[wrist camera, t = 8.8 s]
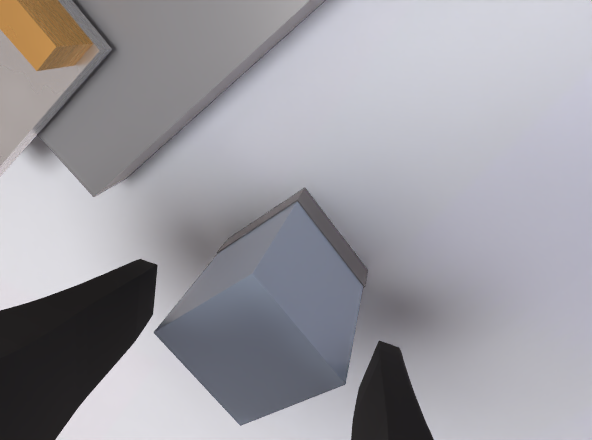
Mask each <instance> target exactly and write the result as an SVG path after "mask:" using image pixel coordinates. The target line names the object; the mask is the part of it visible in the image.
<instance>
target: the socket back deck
mask: <svg viewBox="0 0 592 440" xmlns="http://www.w3.org/2000/svg"><path fill="white" fill-rule="evenodd" d="M72 1H73V2H74V3H75V4H76V6H77V7H78V8H79V9H80V11H81V12H82V13H83V14H84V15H85V17H86V18H87V19H88V20H89V22H90V23H91V24H92V25H93V26H94V28H95V29H96V30H97V31H98V33H99V34H100V35H101V36H102V37H103V39H104V40H105V41H106V42H107V44H108V45H109V46H110V47H111V48H112V50H111V51H110V52H109V53H108V55H107V56H106V57H105V58H104V59H103V60H102V61H101V63H100V64H99V65H98V66H97V67H96V68H95V69H94V71H93V72H92V73H91V74H90V75H89V76H88V77H87V78H86V80H85V81H84V82H83V83H82V84H81V85H80V86H79V88H78V89H77V90H76V91H75V92H74V93H73V94H72V96H71V97H70V98H69V99H68V100H67V101H66V102H65V104H64V105H63V106H62V107H61V108H60V109H59V110H58V111H57V113H56V114H55V115H54V116H53V117H52V118H51V119H50V121H49V122H48V123H47V124H46V125H45V126H44V127H43V129H42V130H41V131H40V132H39V133H38V134H37V135H38V136H39V137H40V138H41V139H42V140H43V141H44V143H45V144H46V145H47V146H48V147H49V148H50V149H51V150H52V152H53V153H54V154H55V155H56V156H57V157H58V158H59V159H60V160H61V162H62V163H63V164H64V165H65V166H66V167H67V168H68V169H69V170H70V172H71V173H72V174H73V175H74V176H75V177H76V178H77V179H78V180H79V182H80V183H81V184H82V185H83V186H84V187H85V188H86V189H87V190H88V192H89V193H90V194H91V195H92V196H93V197H95V196H97V195H99V194H100V193H102V192H104V191H106V190H107V189H109V188H111V187H113V186H114V185H116V184H118V183H120V182H121V181H123V180H125V179H126V178H127V177H128V176H129V175H131V174H132V173H133V172H134V171H135V170H136V169H137V168H138V167H140V166H141V165H142V164H143V163H144V162H145V161H146V160H147V159H148V158H150V157H151V156H152V155H153V154H154V153H155V152H156V151H157V150H159V149H160V148H161V147H162V146H163V145H164V144H165V143H166V142H168V141H169V140H170V139H171V138H172V137H173V136H174V135H175V134H176V133H178V132H179V131H180V130H181V129H182V128H183V127H184V126H185V125H187V124H188V123H189V122H190V121H191V120H192V119H193V118H194V117H195V116H197V115H198V114H199V113H200V112H201V111H202V110H203V109H204V108H206V107H207V106H208V105H209V104H210V103H211V102H212V101H213V100H214V99H216V98H217V97H218V96H219V95H220V94H221V93H222V92H223V91H225V90H226V89H227V88H228V87H229V86H230V85H231V84H232V83H234V82H235V81H236V80H237V79H238V78H239V77H240V76H241V75H242V74H244V73H245V72H246V71H244V72H241V73H238V74H235V75H232V76H230V77H227V78H224V77H223V76H222V74H221V73H220V72H219V71H218V69H217V68H216V67H215V65H214V64H213V63H212V61H211V60H210V59H209V57H208V56H207V55H206V54H205V52H204V51H203V50H202V48H201V47H200V46H199V44H198V43H197V42H196V41H195V39H194V38H193V37H192V35H191V34H190V33H189V31H188V30H187V29H186V27H185V26H184V25H183V24H182V22H181V21H180V20H179V18H178V17H177V16H176V14H175V13H174V12H173V11H172V9H171V8H170V7H169V5H168V4H167V3H166V1H165V0H72Z"/></svg>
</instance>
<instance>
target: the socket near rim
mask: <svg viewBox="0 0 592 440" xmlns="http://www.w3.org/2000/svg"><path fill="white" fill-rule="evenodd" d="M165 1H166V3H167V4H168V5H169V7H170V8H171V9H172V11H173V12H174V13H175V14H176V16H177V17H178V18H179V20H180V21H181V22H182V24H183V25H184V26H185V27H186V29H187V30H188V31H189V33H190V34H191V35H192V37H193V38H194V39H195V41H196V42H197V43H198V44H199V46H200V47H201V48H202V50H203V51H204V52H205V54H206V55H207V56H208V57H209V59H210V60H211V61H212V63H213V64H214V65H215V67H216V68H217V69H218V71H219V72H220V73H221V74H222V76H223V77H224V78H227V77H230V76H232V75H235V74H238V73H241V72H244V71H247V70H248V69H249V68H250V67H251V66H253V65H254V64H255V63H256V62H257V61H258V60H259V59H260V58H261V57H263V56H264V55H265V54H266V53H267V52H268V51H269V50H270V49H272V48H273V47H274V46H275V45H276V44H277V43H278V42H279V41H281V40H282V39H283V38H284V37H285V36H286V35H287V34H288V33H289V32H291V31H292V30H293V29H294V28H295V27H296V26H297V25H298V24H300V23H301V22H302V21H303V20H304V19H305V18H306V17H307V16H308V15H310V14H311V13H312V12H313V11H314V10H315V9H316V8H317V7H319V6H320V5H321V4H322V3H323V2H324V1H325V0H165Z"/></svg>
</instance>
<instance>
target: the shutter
mask: <svg viewBox="0 0 592 440" xmlns="http://www.w3.org/2000/svg"><path fill="white" fill-rule="evenodd" d="M111 50H112V48H111V47H110V46H109V45H108V44H107V42H106V41H105V40H104V39H103V37H102V36H101V35H100V34H99V33H98V31H97V30H96V29H95V28H94V26H93V25H92V24H91V23H90V22H89V20H88V19H87V18H86V17H85V15H84V14H83V13H82V12H81V11H80V9H79V8H78V7H77V6H76V4H75V3H74V2H73V1H72V0H0V176H1V175H2V174H3V173H4V172H5V171H6V170H7V168H8V167H9V166H10V165H11V164H12V163H13V162H14V160H15V159H16V158H17V157H18V156H19V155H20V154H21V152H22V151H23V150H24V149H25V148H26V147H27V146H28V145H29V143H30V142H31V141H32V140H33V139H34V138H35V137H36V135H37V134H38V133H39V132H40V131H41V130H42V129H43V127H44V126H45V125H46V124H47V123H48V122H49V121H50V119H51V118H52V117H53V116H54V115H55V114H56V113H57V111H58V110H59V109H60V108H61V107H62V106H63V105H64V104H65V102H66V101H67V100H68V99H69V98H70V97H71V96H72V94H73V93H74V92H75V91H76V90H77V89H78V88H79V86H80V85H81V84H82V83H83V82H84V81H85V80H86V78H87V77H88V76H89V75H90V74H91V73H92V72H93V71H94V69H95V68H96V67H97V66H98V65H99V64H100V63H101V61H102V60H103V59H104V58H105V57H106V56H107V55H108V53H109V52H110V51H111Z"/></svg>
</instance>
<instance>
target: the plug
mask: <svg viewBox="0 0 592 440" xmlns="http://www.w3.org/2000/svg"><path fill="white" fill-rule="evenodd" d="M217 253H218V254H217V255H216V257H215V258H214V259H213V260H212V262H211V263H210V264H209V265H208V266H207V268H206V269H205V270H204V271H203V273H202V274H201V275H200V276H199V277H198V279H197V280H196V281H195V282H194V284H193V285H192V286H191V287H190V289H189V290H188V291H187V292H186V293H185V295H184V296H183V297H182V298H181V300H180V301H179V302H178V303H177V304H176V306H175V307H174V308H173V309H172V311H171V312H170V313H169V314H168V316H167V317H166V318H165V319H164V320H163V322H162V323H161V324H160V325H159V327H158V328H157V329H156V330H155V331H154V334H155V335H156V336H157V337H158V338H159V339H160V340H161V341H162V342H163V343H164V344H165V345H166V346H167V348H168V349H169V350H170V351H171V352H172V353H173V354H174V355H175V356H176V357H177V358H178V359H179V360H180V361H181V363H182V364H183V365H184V366H185V367H186V368H187V369H188V370H189V371H190V372H191V373H192V374H193V375H194V377H195V378H196V379H197V380H198V381H199V382H200V383H201V384H202V385H203V386H204V387H205V388H206V389H207V390H208V392H209V393H210V394H211V395H212V396H213V397H214V398H215V399H216V400H217V401H218V402H219V403H220V404H221V405H222V407H223V408H224V409H225V410H226V411H227V412H228V413H229V414H230V415H231V416H232V417H233V418H234V419H235V421H236V422H237V423H238V424H239V425H240V426H241V425H243V424H246V423H249V422H251V421H254V420H256V419H259V418H261V417H264V416H266V415H269V414H271V413H274V412H276V411H279V410H282V409H284V408H287V407H289V406H292V405H294V404H297V403H299V402H302V401H304V400H307V399H309V398H312V397H315V396H317V395H320V394H322V393H325V392H327V391H330V390H332V389H335V388H337V387H340V386H343V385H345V384H346V378H347V373H348V367H349V362H350V356H351V351H352V345H353V340H354V334H355V329H356V323H357V318H358V312H359V307H360V301H361V296H362V290H363V288H364V287H365V284H366V279H367V273H368V270H367V268H366V267H365V266H364V264H363V263H362V262H361V260H360V259H359V258H358V256H357V255H356V254H355V252H354V251H353V250H352V249H351V247H350V246H349V245H348V243H347V242H346V241H345V239H344V238H343V237H342V235H341V234H340V233H339V232H338V230H337V229H336V228H335V226H334V225H333V224H332V222H331V221H330V220H329V218H328V217H327V216H326V214H325V213H324V212H323V211H322V209H321V208H320V207H319V205H318V204H317V203H316V201H315V200H314V199H313V197H312V196H311V195H310V194H309V192H308V191H307V190H306V188H303V189H302V190H300V191H299V192H297V193H296V194H294V195H293V196H291V197H290V198H288V199H287V200H285V201H284V202H282V203H281V204H279V205H278V206H276V207H275V208H274V209H272V210H271V211H269V212H268V213H266V214H265V215H263V216H262V217H260V218H259V219H257V220H256V221H254V222H253V223H251V224H250V225H248V226H247V227H245V228H244V229H242V230H241V231H239V232H238V233H236V234H235V235H233V236H232V237H230V238H229V239H228V240H227V241H226V242H225V243H224V244H223V246H222V247H221V248H220V249H219V251H218V252H217Z"/></svg>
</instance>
